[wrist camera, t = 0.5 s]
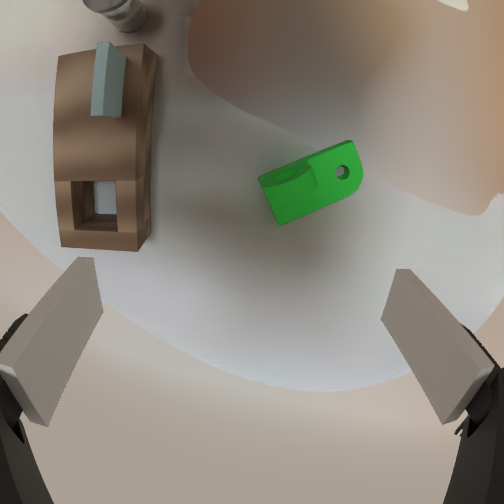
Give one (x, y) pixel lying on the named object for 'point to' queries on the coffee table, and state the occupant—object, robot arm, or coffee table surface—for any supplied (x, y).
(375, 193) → the coffee table surface
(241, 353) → the coffee table surface
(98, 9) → the grey cylinder
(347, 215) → the coffee table surface
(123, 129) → the block
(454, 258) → the coffee table surface
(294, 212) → the mechanical part
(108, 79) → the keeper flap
